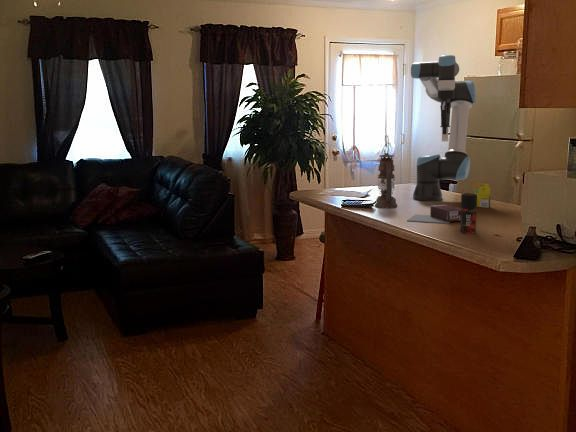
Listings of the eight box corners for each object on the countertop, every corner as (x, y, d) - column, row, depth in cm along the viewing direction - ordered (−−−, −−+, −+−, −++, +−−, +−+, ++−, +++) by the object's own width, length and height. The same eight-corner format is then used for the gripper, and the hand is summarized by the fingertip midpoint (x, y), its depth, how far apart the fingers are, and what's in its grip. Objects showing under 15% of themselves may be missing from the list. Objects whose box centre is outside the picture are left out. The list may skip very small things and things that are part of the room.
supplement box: (429, 216, 280) (448, 222, 265) (429, 205, 279) (448, 211, 264) (446, 214, 282) (466, 220, 267) (447, 204, 282) (466, 209, 267)
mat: (415, 215, 285) (415, 214, 284) (455, 217, 277) (455, 216, 277) (406, 221, 271) (407, 220, 271) (449, 223, 264) (449, 222, 264)
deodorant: (473, 230, 250) (474, 193, 247) (477, 233, 244) (479, 195, 242) (458, 230, 250) (459, 193, 247) (462, 233, 244) (464, 195, 241)
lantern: (393, 203, 318) (394, 134, 311) (400, 208, 302) (401, 136, 295) (372, 204, 317) (372, 134, 311) (378, 209, 301) (378, 136, 295)
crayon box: (490, 207, 302) (491, 183, 300) (488, 207, 300) (489, 183, 297) (475, 205, 306) (475, 182, 304) (473, 206, 304) (474, 183, 301)
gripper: (440, 90, 295) (439, 140, 299) (435, 90, 283) (433, 142, 288) (457, 89, 292) (455, 140, 296) (451, 89, 280) (450, 142, 284)
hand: (444, 141), depth 292 cm, fingers closed
